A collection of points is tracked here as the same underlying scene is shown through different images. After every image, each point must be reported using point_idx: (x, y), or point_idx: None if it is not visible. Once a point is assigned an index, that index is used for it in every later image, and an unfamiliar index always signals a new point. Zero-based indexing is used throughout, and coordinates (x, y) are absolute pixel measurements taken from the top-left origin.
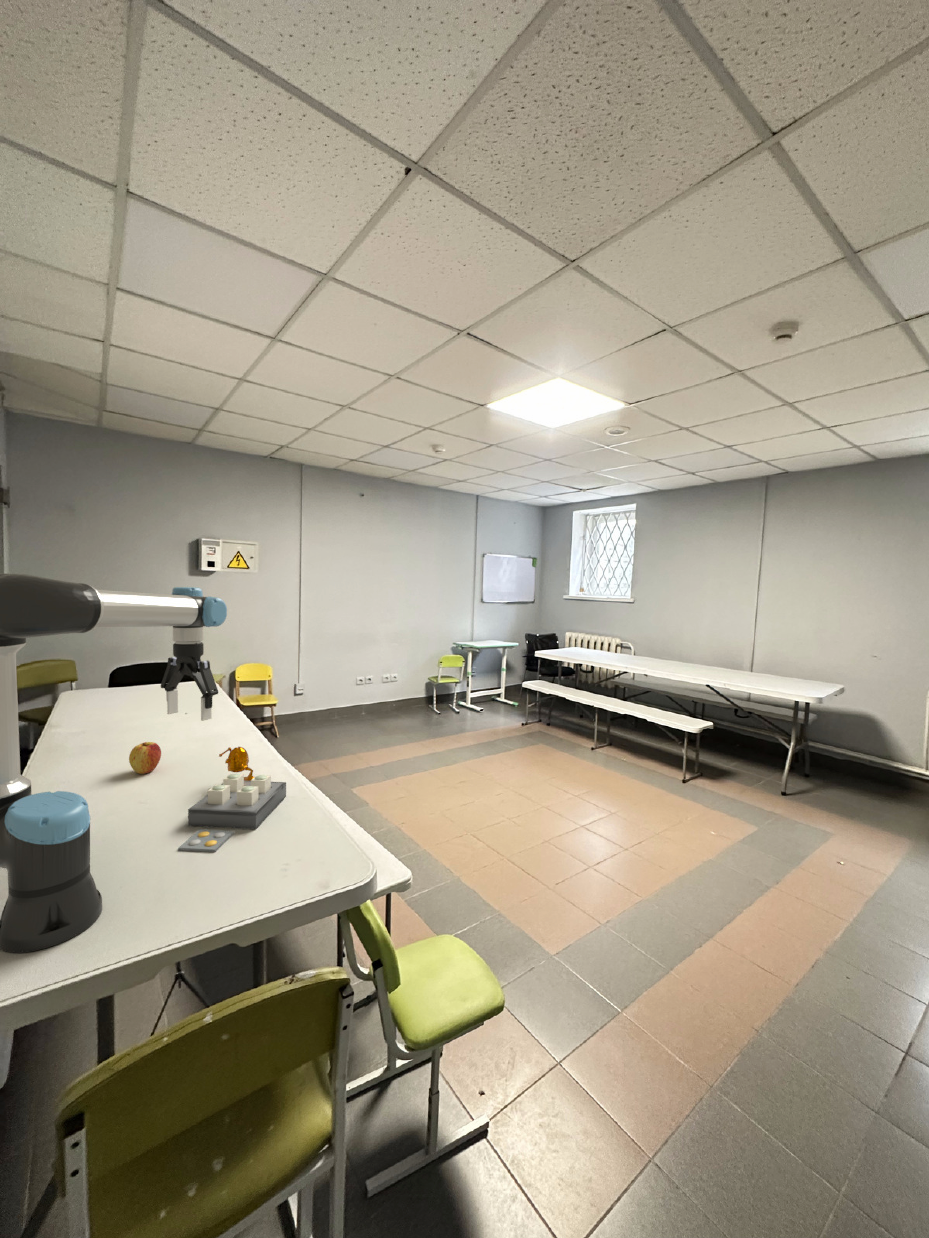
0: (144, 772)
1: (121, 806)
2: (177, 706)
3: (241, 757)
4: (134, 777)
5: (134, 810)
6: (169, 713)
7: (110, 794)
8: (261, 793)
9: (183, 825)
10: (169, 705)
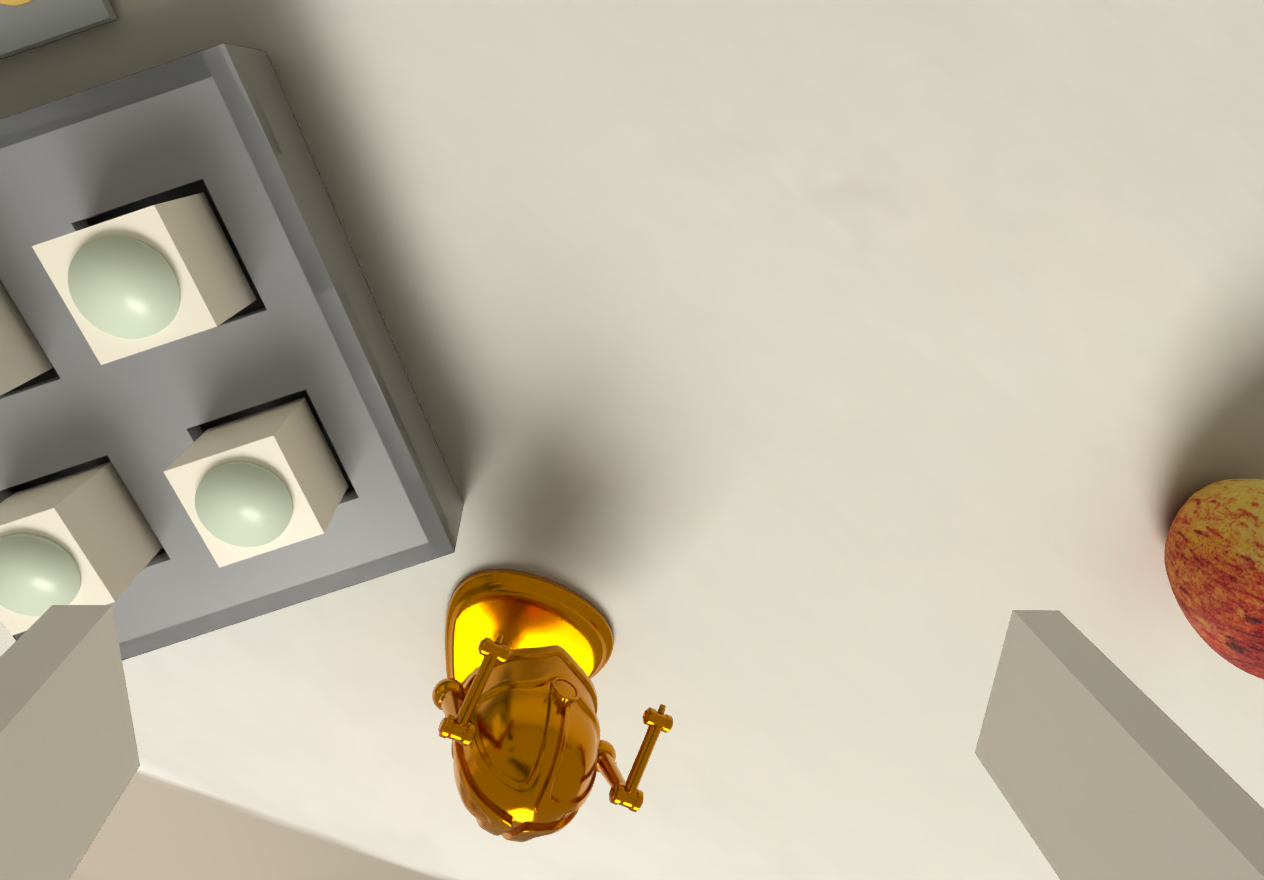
0: (1186, 501)
1: (936, 92)
2: (1032, 830)
3: (462, 749)
4: (1205, 442)
5: (804, 82)
6: (1018, 622)
7: (1151, 198)
8: (14, 482)
9: (304, 46)
10: (1116, 731)
